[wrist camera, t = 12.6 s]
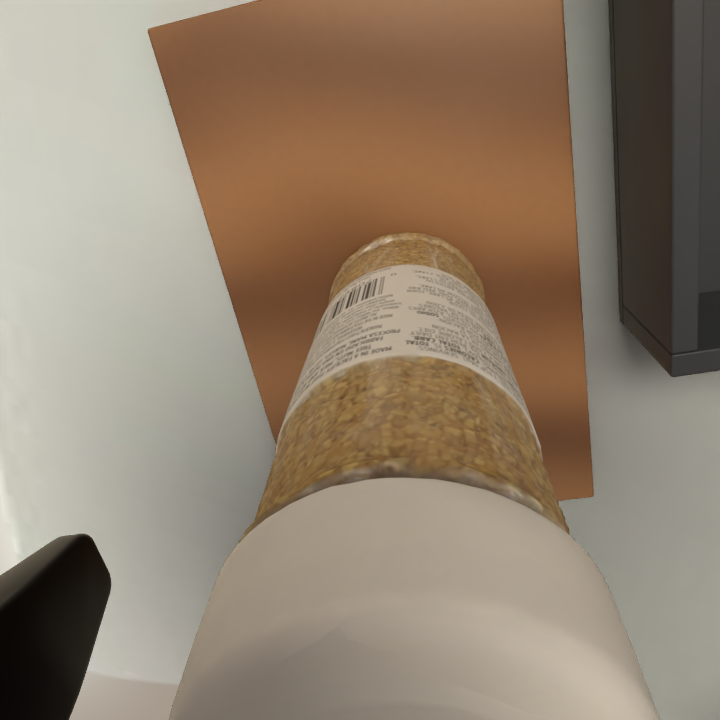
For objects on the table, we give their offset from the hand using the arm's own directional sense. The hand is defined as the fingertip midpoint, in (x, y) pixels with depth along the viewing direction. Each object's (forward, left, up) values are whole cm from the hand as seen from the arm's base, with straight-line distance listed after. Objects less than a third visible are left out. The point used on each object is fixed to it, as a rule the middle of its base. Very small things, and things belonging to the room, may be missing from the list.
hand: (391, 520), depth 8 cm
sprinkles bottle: (0, 0, -10) cm, 10 cm away
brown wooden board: (0, 0, -10) cm, 10 cm away
